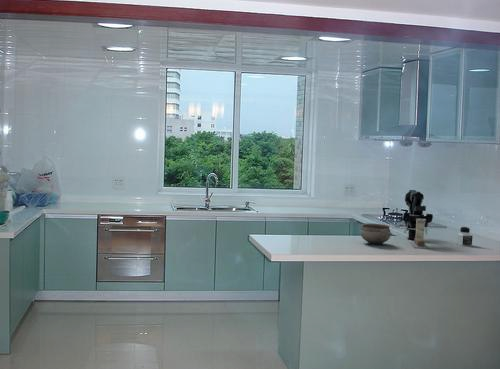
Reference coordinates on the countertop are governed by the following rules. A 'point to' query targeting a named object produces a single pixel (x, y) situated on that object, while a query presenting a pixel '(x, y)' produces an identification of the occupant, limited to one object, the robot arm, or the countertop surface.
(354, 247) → the countertop surface
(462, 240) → the medicine bottle
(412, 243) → the flat rectangular plate
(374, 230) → the cooking pot
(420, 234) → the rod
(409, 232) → the robot arm
